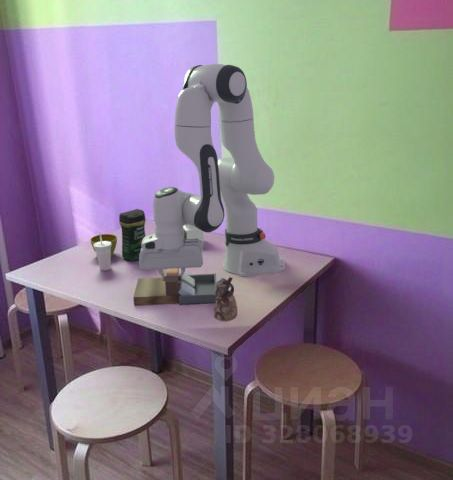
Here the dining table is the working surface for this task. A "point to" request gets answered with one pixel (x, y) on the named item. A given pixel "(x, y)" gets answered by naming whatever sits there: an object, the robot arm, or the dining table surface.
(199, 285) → the tray
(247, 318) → the dining table surface
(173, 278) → the two-tone eraser block
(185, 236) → the medicine bottle
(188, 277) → the tile
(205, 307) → the dining table surface
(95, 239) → the flower pot
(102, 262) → the smoothie
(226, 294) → the figurine
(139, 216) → the coffee jar
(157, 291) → the brown wooden square board
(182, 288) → the tile
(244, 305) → the dining table surface
